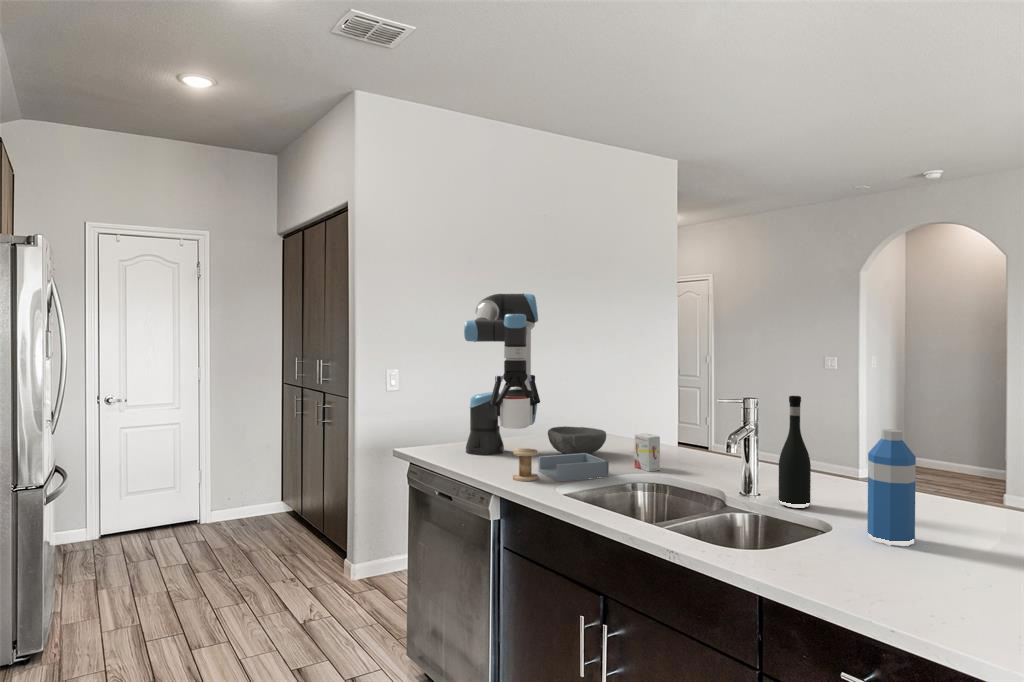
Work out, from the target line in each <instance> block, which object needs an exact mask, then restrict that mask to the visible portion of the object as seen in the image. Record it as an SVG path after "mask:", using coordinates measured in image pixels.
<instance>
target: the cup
mask: <svg viewBox="0 0 1024 682" xmlns="http://www.w3.org/2000/svg"><path fill="white" fill-rule="evenodd" d="M501 407H503V426H501V427H502V428H505V429H508V430H509V429H511V430H513V429H514V430H520V429H526V428H528V427H529V426H531V425H530V398H528V399H527V398H526V397H518V396H512V397H505V398H504V399H503V402H502V404H501Z"/></svg>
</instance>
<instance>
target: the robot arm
mask: <svg viewBox="0 0 1024 682" xmlns="http://www.w3.org/2000/svg"><path fill="white" fill-rule="evenodd" d="M538 322H539V315H538V305H537V299H536V296H535V294H532V293H496V294H495V293H494V294H492V295H489V296H486V297H485V298H483V299H481V300H480V301H479V302H478V304H477V306H476V307H475V317H474V319H471V320H470V319H469V320H466V321H465V322H464V327H463V330H464V331H463V333H464V334H463V335H464V339H465V341H466V342H473V343H477V342H480V343H482V342H483V343H484V342H485V343H486V342H487V343H488V342H495V343H496V342H498V343H499V342H501V343H503V342H504V347H503V348H504V350H503V352H504V353H503V358H504V359H505V360H504V361H503V370H504V371H503V372H504V373H503V375H495V377H494V381H495V383H494V386H493V389H492V391H490V392H482V393H477V394H474V395H472V396H471V397H470V400H469V401H470V405H469V409H470V410H469V411H470V413H469V414H470V421H469V425H470V427H469V430H470V431H469V436H468V437H467V441H466V445H465V452H466V453H467V454H471V455H477V456H479V455H481V456H483V455H484V456H485V455H489V456H490V455H498V454H502V453H504V452H505V444H504V441H503V438H502V435H501V433H500V432H501V431H500V429H501V428H500V427H502V426H503V407H501V404H502V402H503V399H504V398H505V397H512V396H518V397H526V398H527V399H528V398H530V425H529V426H532V425H534V423H535V422H536V418H537V417H536V415H537V412H538V411H537V409H538V404H540V403H541V399H540V395H539V391H538V389H537V388H538V387H537V384H536V376H535V375H534V374H532V369H531V368H532V355H531V354H532V329H533V328H535V325H536V324H535V323H538ZM503 381H505V383H504V385H503V388H502V390H501V392H500V388H501V385H502V382H503Z"/></svg>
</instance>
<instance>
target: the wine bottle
mask: <svg viewBox="0 0 1024 682" xmlns="http://www.w3.org/2000/svg"><path fill="white" fill-rule="evenodd" d="M788 402H789V429H788V434H787V437H786V440H785V441H784V444H783V447H782V450H781V452H780V455H779V458H778V459H779V460H778V501H779V500H780V501H782V502H786V503H791V504H806V503H810V504H811V488H812V487H811V484H812V483H811V481H812V478H811V477H812V475H811V467H812V465H811V459H810V454H809V451H808V449H807V446H806V444H805V441H804V439H803V437H802V432H801V403H802V396H801V395H789V396H788Z"/></svg>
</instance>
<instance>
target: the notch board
mask: <svg viewBox="0 0 1024 682" xmlns="http://www.w3.org/2000/svg"><path fill="white" fill-rule="evenodd" d="M537 459H538V463H537V465H538V468H537V470H538V473H539V474H542V475H544V476H546V477H548V478H550V479H552V480H554V481H555V482H558V483H560V482H573V481H581V480H583V481H584V480H590V479H589V478H596V479H600V478H599V477H607V478H609V475H610V474H609V467H610V466H609V463H610V462H609V461H608V460H606V459H603V458H600V457H597V456H595V455H592V454H587V453H579V454H556V455H555V454H554V455H541V456H540V455H539V456H537ZM597 477H598V478H597Z"/></svg>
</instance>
